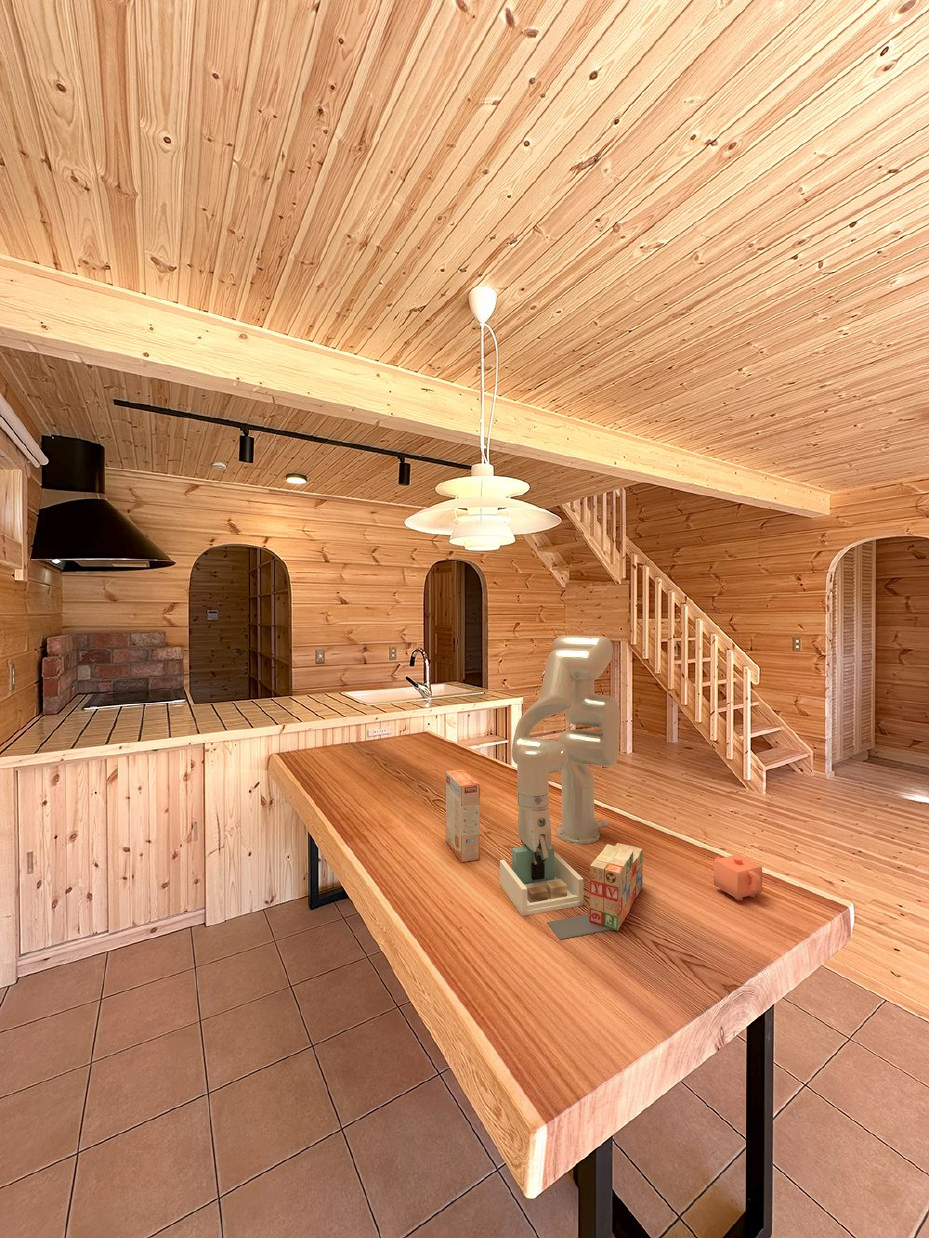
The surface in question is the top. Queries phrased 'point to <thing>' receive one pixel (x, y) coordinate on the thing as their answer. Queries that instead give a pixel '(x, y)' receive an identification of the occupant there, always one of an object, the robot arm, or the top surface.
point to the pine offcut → (556, 889)
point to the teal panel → (523, 864)
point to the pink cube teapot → (737, 876)
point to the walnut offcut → (537, 894)
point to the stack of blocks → (614, 884)
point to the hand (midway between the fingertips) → (533, 872)
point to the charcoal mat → (575, 927)
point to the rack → (561, 872)
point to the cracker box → (463, 815)
